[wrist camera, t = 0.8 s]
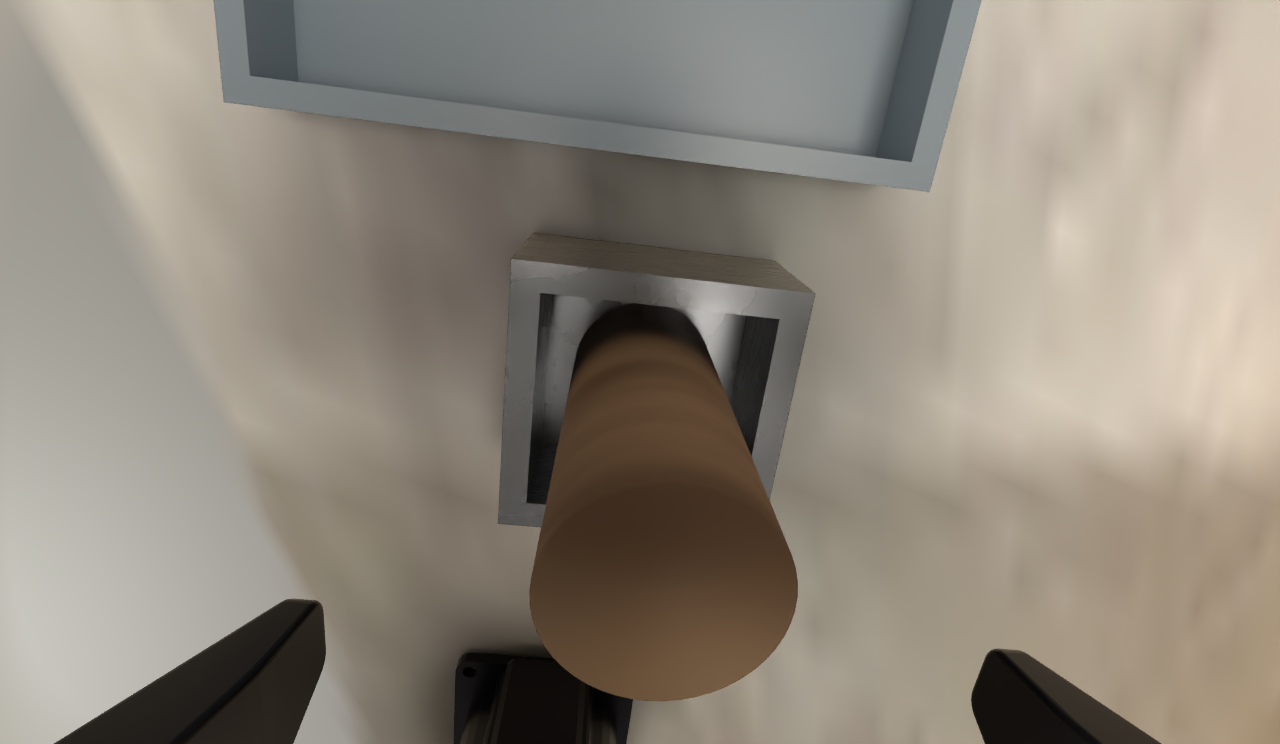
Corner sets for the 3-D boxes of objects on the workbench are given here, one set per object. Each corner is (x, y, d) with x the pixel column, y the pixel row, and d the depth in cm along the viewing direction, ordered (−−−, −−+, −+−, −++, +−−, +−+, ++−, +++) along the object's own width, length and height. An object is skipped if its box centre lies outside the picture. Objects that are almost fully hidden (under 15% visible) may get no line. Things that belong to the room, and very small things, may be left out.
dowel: (698, 434, 20) (769, 708, 10) (569, 422, 19) (521, 692, 10) (719, 310, 18) (824, 496, 9) (581, 295, 18) (538, 471, 9)
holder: (734, 471, 21) (759, 545, 17) (520, 451, 20) (498, 523, 17) (775, 260, 18) (815, 293, 15) (534, 232, 18) (510, 258, 14)
